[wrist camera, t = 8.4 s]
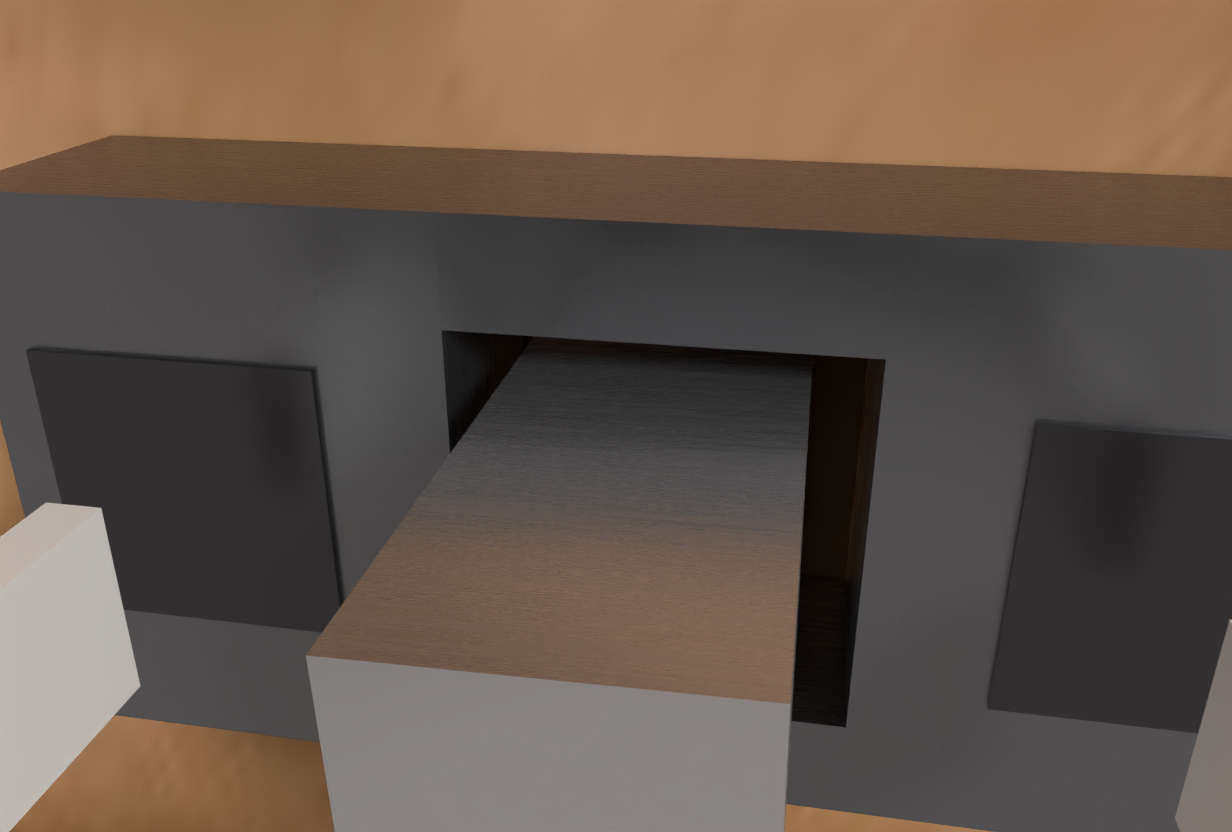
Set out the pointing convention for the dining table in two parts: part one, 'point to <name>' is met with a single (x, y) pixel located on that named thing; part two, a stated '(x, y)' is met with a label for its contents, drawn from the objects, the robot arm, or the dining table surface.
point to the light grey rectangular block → (584, 607)
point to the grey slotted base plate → (681, 316)
